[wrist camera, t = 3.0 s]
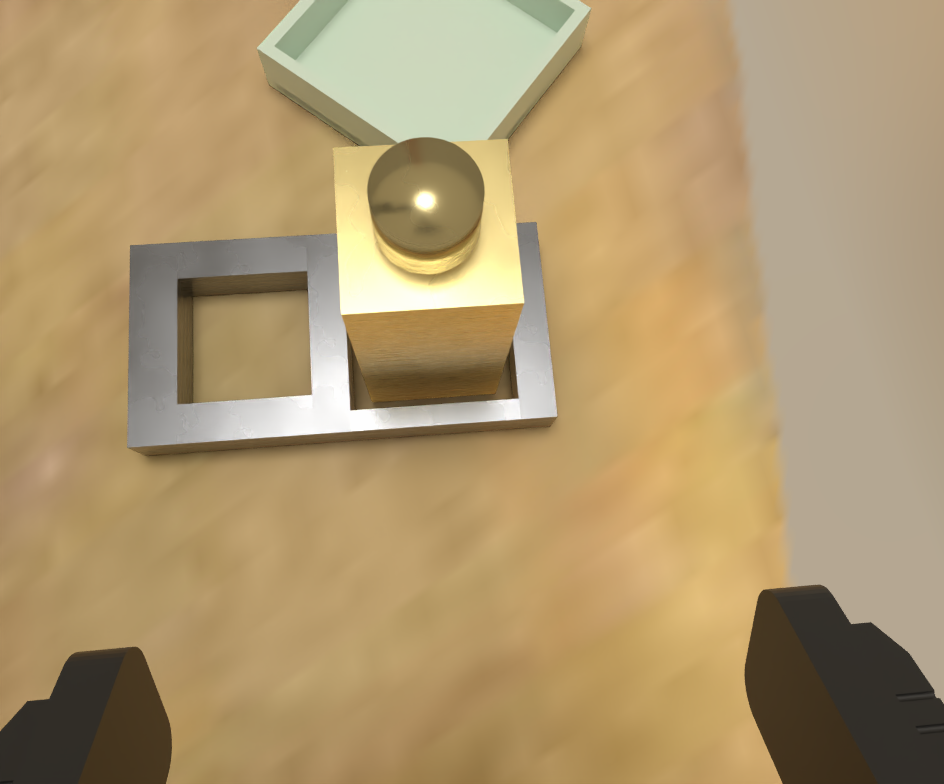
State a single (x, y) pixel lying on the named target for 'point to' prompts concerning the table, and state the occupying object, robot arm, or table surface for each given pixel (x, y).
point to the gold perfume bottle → (428, 265)
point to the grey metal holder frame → (332, 401)
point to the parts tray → (422, 64)
